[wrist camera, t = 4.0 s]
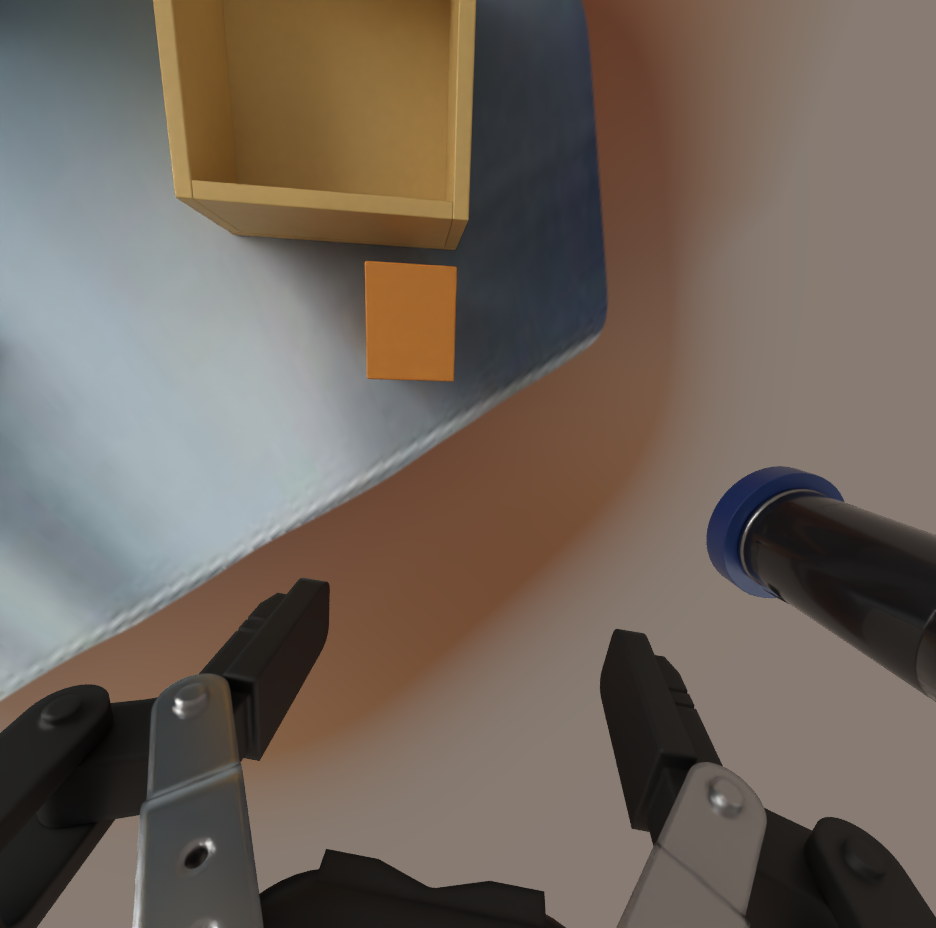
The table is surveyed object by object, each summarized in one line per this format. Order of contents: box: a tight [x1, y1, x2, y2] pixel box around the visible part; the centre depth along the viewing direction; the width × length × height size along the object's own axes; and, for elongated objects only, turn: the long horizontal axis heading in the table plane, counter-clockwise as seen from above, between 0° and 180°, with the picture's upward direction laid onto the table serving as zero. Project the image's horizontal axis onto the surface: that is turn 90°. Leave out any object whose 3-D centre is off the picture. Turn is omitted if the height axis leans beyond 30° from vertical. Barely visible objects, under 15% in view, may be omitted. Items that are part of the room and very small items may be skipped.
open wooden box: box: [153, 0, 476, 250], centre depth 22 cm, size 14×14×7 cm
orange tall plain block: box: [365, 261, 457, 381], centre depth 24 cm, size 4×5×10 cm
